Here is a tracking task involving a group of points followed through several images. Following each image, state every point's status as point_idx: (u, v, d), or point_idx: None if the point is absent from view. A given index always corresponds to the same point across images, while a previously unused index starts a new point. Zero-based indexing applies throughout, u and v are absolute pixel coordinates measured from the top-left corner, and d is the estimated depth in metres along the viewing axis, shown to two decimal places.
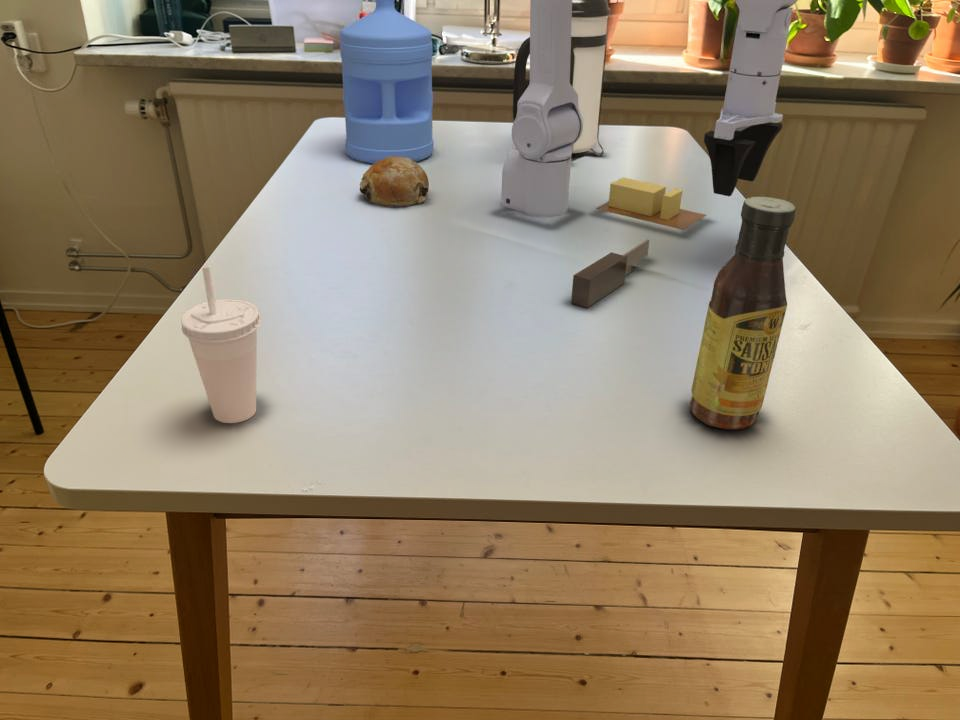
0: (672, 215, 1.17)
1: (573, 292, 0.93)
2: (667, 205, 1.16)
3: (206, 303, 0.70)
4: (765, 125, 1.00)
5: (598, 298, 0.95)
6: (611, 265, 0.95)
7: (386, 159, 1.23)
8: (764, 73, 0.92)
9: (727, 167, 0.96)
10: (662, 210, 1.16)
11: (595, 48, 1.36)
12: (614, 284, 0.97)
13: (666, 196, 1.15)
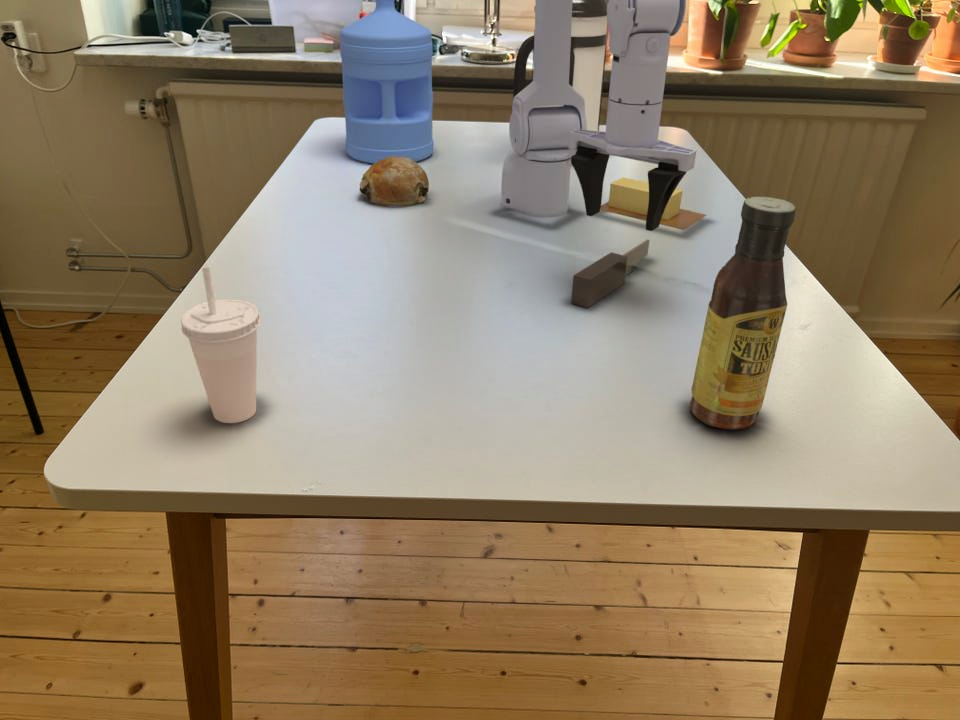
0: (672, 215, 1.17)
1: (573, 292, 0.93)
2: (667, 205, 1.16)
3: (206, 303, 0.70)
4: None
5: (598, 298, 0.95)
6: (611, 265, 0.95)
7: (386, 159, 1.23)
8: (624, 100, 0.85)
9: None
10: None
11: (595, 48, 1.36)
12: (614, 284, 0.97)
13: None
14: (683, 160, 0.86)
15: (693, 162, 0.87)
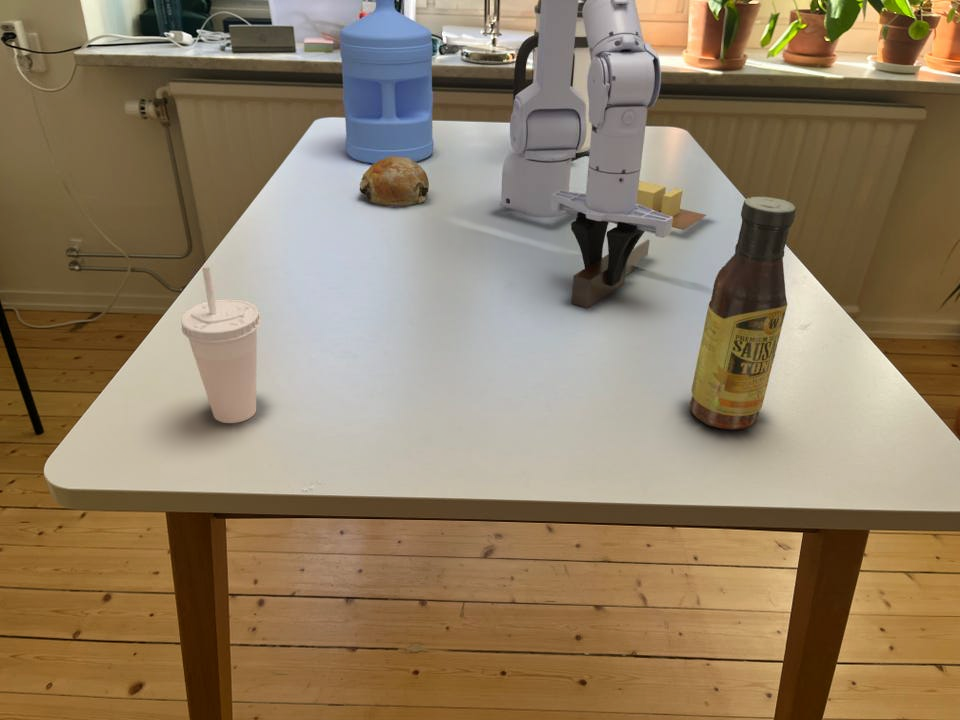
0: (672, 215, 1.17)
1: (573, 292, 0.93)
2: (667, 205, 1.16)
3: (206, 303, 0.70)
4: (613, 228, 0.92)
5: (598, 298, 0.95)
6: None
7: (386, 159, 1.23)
8: (601, 169, 0.88)
9: None
10: (662, 210, 1.16)
11: None
12: None
13: (666, 196, 1.15)
14: (660, 227, 0.88)
15: (670, 228, 0.90)
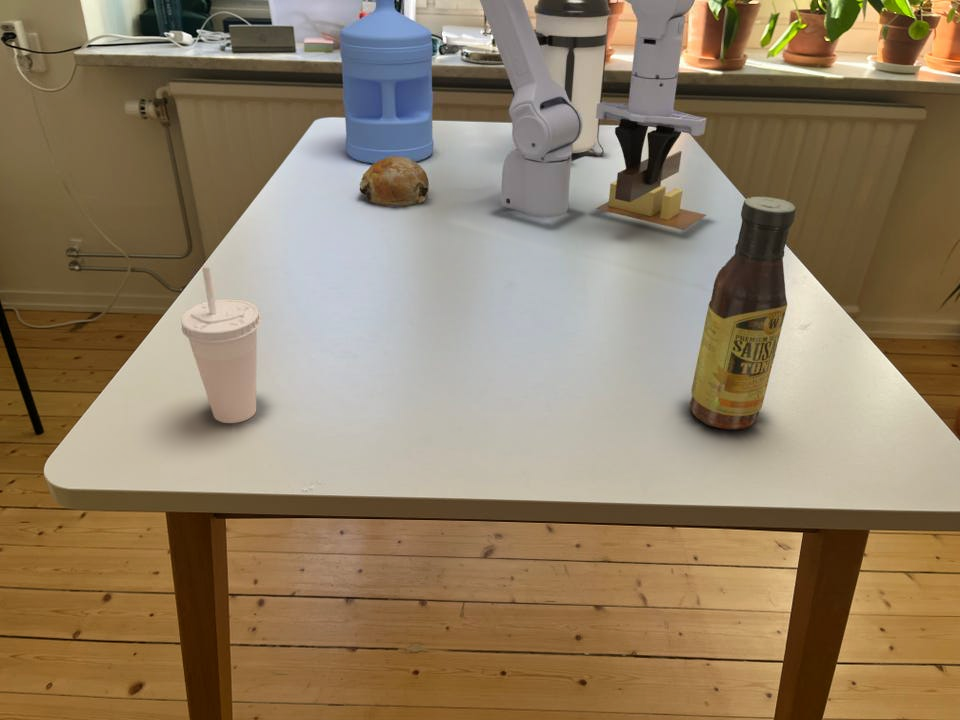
0: (672, 215, 1.17)
1: (617, 188, 1.06)
2: (667, 205, 1.16)
3: (206, 303, 0.70)
4: (653, 131, 1.04)
5: (638, 195, 1.07)
6: None
7: (386, 159, 1.23)
8: (661, 76, 1.00)
9: None
10: (662, 210, 1.16)
11: (595, 48, 1.36)
12: (651, 185, 1.10)
13: (666, 196, 1.15)
14: (695, 126, 1.01)
15: (704, 129, 1.02)
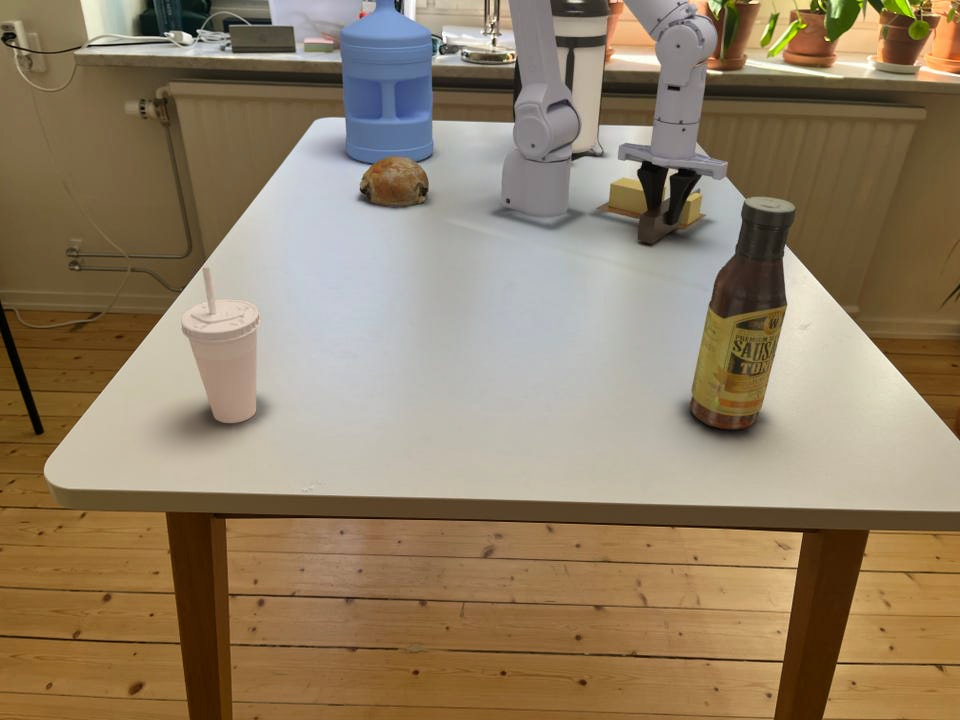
0: (692, 220, 1.16)
1: (639, 230, 1.07)
2: (687, 209, 1.14)
3: (206, 303, 0.70)
4: (675, 174, 1.06)
5: (660, 236, 1.09)
6: None
7: (386, 159, 1.23)
8: (685, 121, 1.01)
9: None
10: (682, 215, 1.15)
11: (595, 48, 1.36)
12: (672, 225, 1.11)
13: (686, 200, 1.14)
14: (717, 170, 1.02)
15: (725, 172, 1.04)
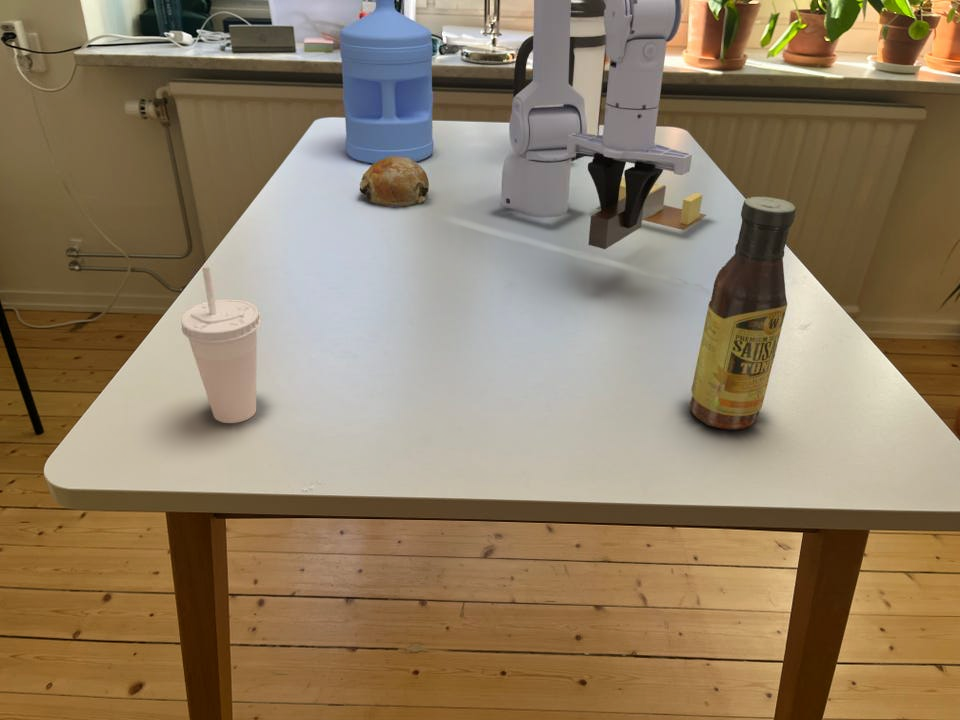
0: (692, 220, 1.16)
1: (590, 233, 0.92)
2: (687, 209, 1.14)
3: (206, 303, 0.70)
4: (631, 168, 0.91)
5: (615, 240, 0.94)
6: None
7: (386, 159, 1.23)
8: (621, 105, 0.87)
9: None
10: (682, 215, 1.15)
11: (595, 48, 1.36)
12: (631, 227, 0.96)
13: (686, 200, 1.14)
14: (679, 164, 0.87)
15: (689, 166, 0.89)
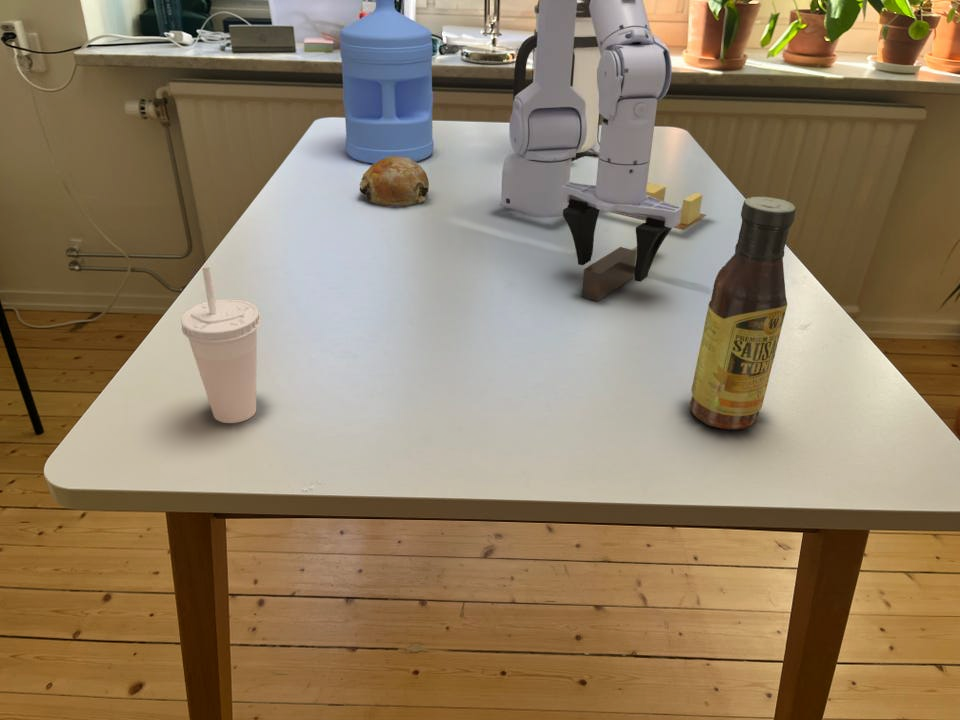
0: (692, 220, 1.16)
1: (583, 286, 0.95)
2: (687, 209, 1.14)
3: (206, 303, 0.70)
4: (642, 224, 0.92)
5: (608, 292, 0.96)
6: (620, 259, 0.97)
7: (386, 159, 1.23)
8: (613, 160, 0.89)
9: None
10: (682, 215, 1.15)
11: (595, 48, 1.36)
12: (623, 278, 0.99)
13: (686, 200, 1.14)
14: (669, 217, 0.90)
15: (680, 219, 0.91)
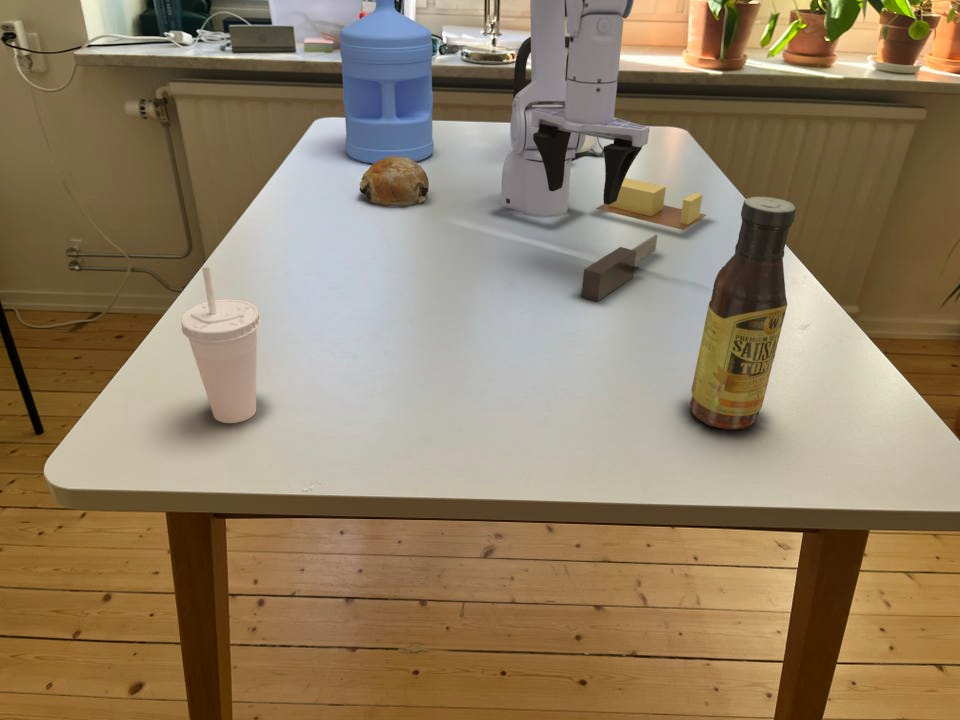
0: (692, 220, 1.16)
1: (583, 286, 0.95)
2: (687, 209, 1.14)
3: (206, 303, 0.70)
4: (610, 144, 0.93)
5: (608, 292, 0.96)
6: (620, 259, 0.97)
7: (386, 159, 1.23)
8: (578, 78, 0.90)
9: None
10: (682, 215, 1.15)
11: None
12: (623, 278, 0.99)
13: (686, 200, 1.14)
14: (636, 136, 0.91)
15: (647, 138, 0.92)
